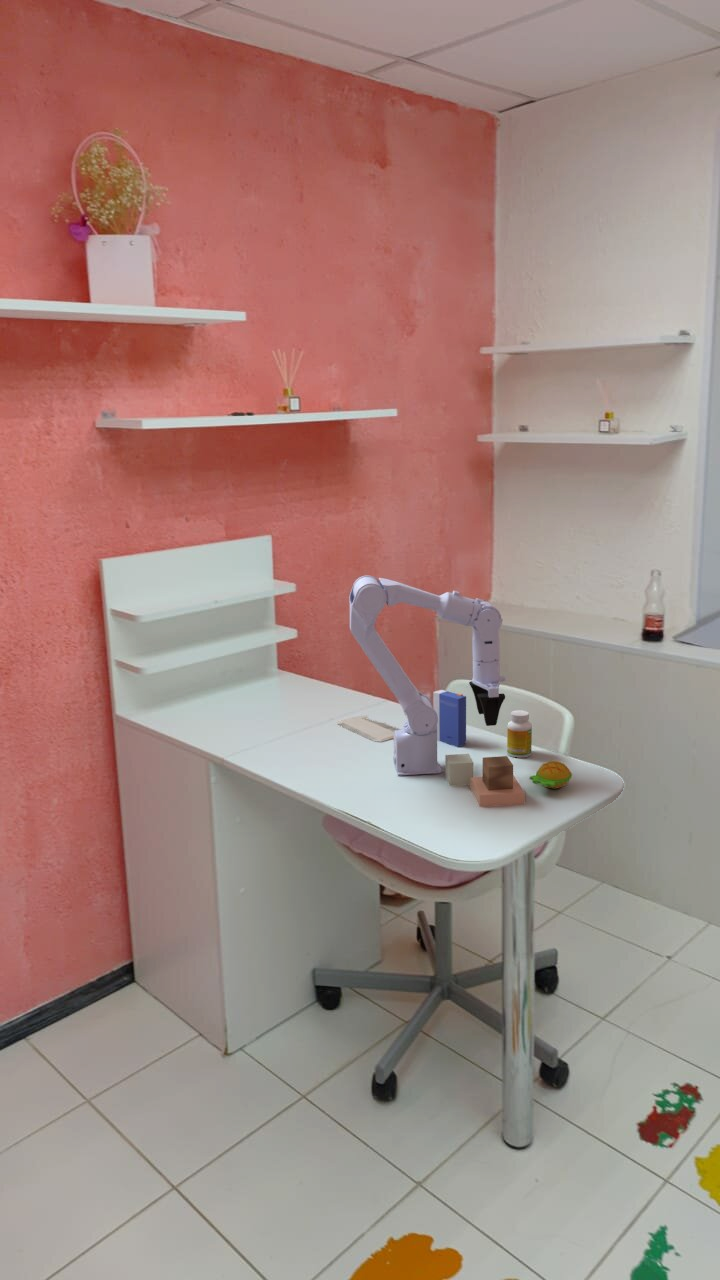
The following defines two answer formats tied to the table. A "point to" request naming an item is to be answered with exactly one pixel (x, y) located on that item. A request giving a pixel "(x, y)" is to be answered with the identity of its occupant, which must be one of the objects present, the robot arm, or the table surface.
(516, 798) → the tile block
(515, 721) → the supplement bottle
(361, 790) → the table surface
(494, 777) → the walnut cube
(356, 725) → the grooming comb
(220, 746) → the table surface
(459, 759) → the sage cube
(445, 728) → the walkman
